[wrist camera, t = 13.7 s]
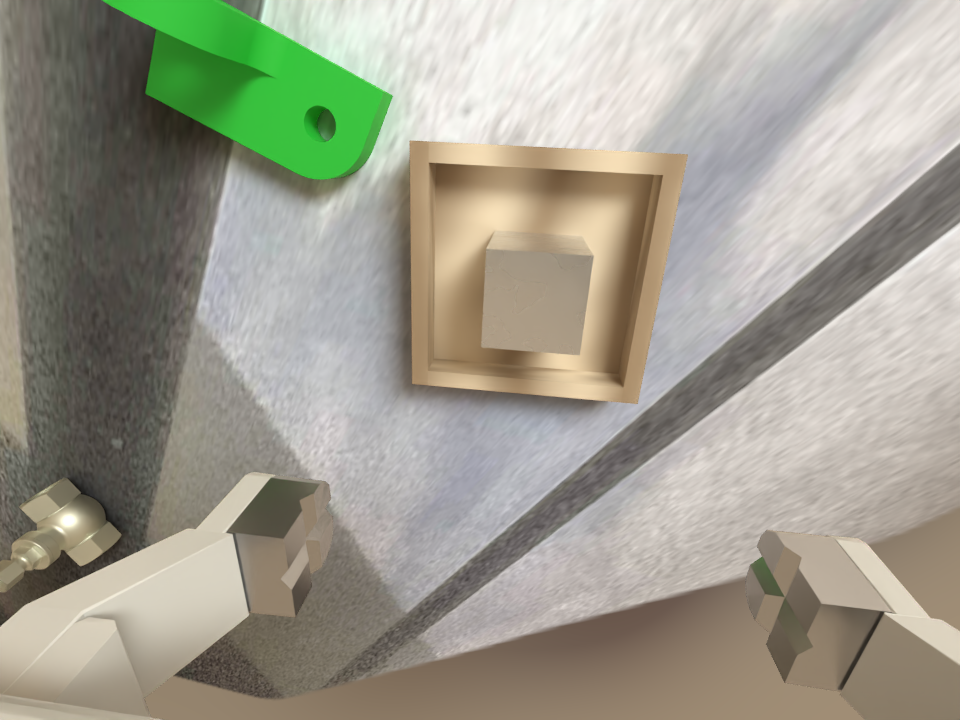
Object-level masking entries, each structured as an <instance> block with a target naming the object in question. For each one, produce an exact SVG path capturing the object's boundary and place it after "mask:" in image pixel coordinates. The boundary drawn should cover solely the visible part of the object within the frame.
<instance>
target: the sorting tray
mask: <svg viewBox="0 0 960 720" xmlns="http://www.w3.org/2000/svg"><path fill="white" fill-rule="evenodd" d="M687 157H688V155H687V154H667V153H647V152H627V151H607V150H587V149H567V148H547V147H527V146H507V145H487V144H467V143H447V142H427V141H410V226H411V323H412V384H419V385H430V386H441V387H453V388H464V389H475V390H487V391H498V392H509V393H520V394H532V395H543V396H554V397H566V398H577V399H588V400H600V401H611V402H622V403H633V404H638V399H639V394H640V389H641V384H642V379H643V374H644V369H645V364H646V359H647V354H648V350H649V345H650V340H651V335H652V330H653V325H654V320H655V315H656V310H657V305H658V300H659V295H660V290H661V285H662V280H663V275H664V270H665V265H666V261H667V256H668V251H669V246H670V241H671V236H672V231H673V226H674V221H675V216H676V211H677V206H678V201H679V196H680V191H681V186H682V181H683V176H684V172H685V167H686V162H687ZM495 231H510V232H526V233H542V234H558V235H573V236H582V237H583V239H584V241H585V242H586V244H587V245H588V247H589V249H590V250H591V252H592V254H593V255H594V258H593V266H592V273H591V280H590V287H589V294H588V301H587V308H586V315H585V322H584V329H583V336H582V343H581V350H580V355H568V354H556V353H544V352H531V351H519V350H507V349H495V348H482V347H481V341H482V321H483V302H484V283H485V263H486V248H487V246H488V244H489V242H490V240H491V238H492V236H493V234H494V232H495Z"/></svg>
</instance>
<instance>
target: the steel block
mask: <svg viewBox="0 0 960 720" xmlns="http://www.w3.org/2000/svg"><path fill="white" fill-rule="evenodd" d="M593 258H594V255H593V254H592V252H591V250H590V249H589V247H588V245H587V244H586V242H585V241H584V239H583V237H582V236H573V235H558V234H542V233H526V232H510V231H495V232H494V234H493V236H492V238H491V240H490V242H489V244H488V246H487V248H486V263H485V283H484V302H483V321H482V341H481V347H482V348H495V349H507V350H519V351H531V352H544V353H556V354H568V355H580V350H581V343H582V336H583V329H584V322H585V315H586V308H587V301H588V294H589V287H590V280H591V273H592V266H593Z"/></svg>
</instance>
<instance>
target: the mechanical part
mask: <svg viewBox="0 0 960 720" xmlns="http://www.w3.org/2000/svg"><path fill="white" fill-rule="evenodd" d="M102 1H104V2H106V3H107V4H109V5H111V6H113V7H114V8H116V9H118V10H120V11H122V12H124V13H126V14H128V15H130V16H131V17H133V18H135V19H137V20H139V21H141V22H143V23H145V24H147V25H149V26H151V27H154V28H156V34H155V40H154V46H153V52H152V58H151V64H150V69H149V75H148V81H147V87H146V93H145V94H147V95H149V96H151V97H153V98H155V99H157V100H159V101H160V102H162V103H164V104H166V105H168V106H170V107H172V108H174V109H176V110H178V111H179V112H181V113H183V114H185V115H187V116H189V117H191V118H193V119H195V120H196V121H198V122H200V123H202V124H204V125H206V126H208V127H210V128H212V129H214V130H215V131H217V132H219V133H221V134H223V135H225V136H227V137H229V138H231V139H232V140H234V141H236V142H238V143H240V144H242V145H244V146H246V147H248V148H249V149H251V150H253V151H255V152H257V153H259V154H261V155H263V156H265V157H267V158H268V159H270V160H272V161H274V162H276V163H278V164H280V165H282V166H284V167H285V168H287V169H289V170H291V171H293V172H295V173H297V174H299V175H301V176H304V177H307V178H311V179H332V178H341V177H345V176H348V175H350V174H352V173H354V172H355V171H357V170H358V169H359V168H361V167H362V166H363V165H364V163H365V162H366V161H367V160H368V158H369V156H370V155H371V153H372V150H373V148H374V145H375V143H376V140H377V137H378V135H379V132H380V129H381V126H382V124H383V121H384V118H385V116H386V113H387V110H388V108H389V105H390V102H391V99H392V97H393V96H392V95H391V94H389V93H387V92H385V91H383V90H382V89H380V88H378V87H376V86H374V85H373V84H371V83H369V82H367V81H365V80H364V79H362V78H360V77H358V76H356V75H355V74H353V73H351V72H349V71H347V70H346V69H344V68H342V67H340V66H338V65H337V64H335V63H333V62H331V61H329V60H328V59H326V58H324V57H322V56H320V55H319V54H317V53H315V52H313V51H311V50H310V49H308V48H306V47H304V46H302V45H301V44H299V43H297V42H295V41H293V40H292V39H290V38H288V37H286V36H284V35H283V34H281V33H279V32H277V31H275V30H274V29H272V28H270V27H268V26H266V25H265V24H263V23H261V22H259V21H257V20H256V19H254V18H252V17H250V16H248V15H247V14H245V13H243V12H241V11H239V10H238V9H236V8H234V7H232V6H230V5H229V4H227V3H225V2H223V1H221V0H102ZM326 109H328V110H329V111H330V112H331V113H332V114H333V116H334V118H335V122H336V131H335V134H334V136H333V137H332V138H331V139H330V140H329V141H326V140H325V139H324V138H323V137H322V136H321V135H320V133H319V130H318V126H317V122H318V118H319V115H320V114H321V113H322V112H323V111H324V110H326Z"/></svg>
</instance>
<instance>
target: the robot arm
mask: <svg viewBox="0 0 960 720" xmlns="http://www.w3.org/2000/svg"><path fill="white" fill-rule="evenodd" d="M330 499H331V495H330V487H329V484H328V483H327V482H325V481H320V480H313V479H305V478H298V477H290V476H283V475H272V474H264V473H257V472H252V473H249V474H246V475H245V476H244V477H243V478H242V479H241V480H240V481H239V482H238V484H237V485H236V486H235V487H234V488H233V489H232V490H231V491H230V492H229V493H228V494H227V496H226V497H225V498H224V499H223V500H222V501H221V502H220V503H219V504H218V505H217V506H216V508H215V509H214V510H213V511H212V512H211V513H210V514H209V515H208V516H207V517H206V518H205V520H204V521H203V522H202V523H201V524H200V525H199V526H198V527H197V528H196V529H185V530H183V531H181V532H179V533H177V534H175V535H173V536H171V537H168V538H166V539H164V540H162V541H160V542H158V543H156V544H154V545H151V546H149V547H147V548H145V549H143V550H141V551H139V552H137V553H135V554H132V555H130V556H128V557H126V558H124V559H122V560H120V561H118V562H115V563H113V564H111V565H109V566H107V567H105V568H103V569H101V570H98V571H96V572H94V573H92V574H90V575H88V576H86V577H84V578H81V579H79V580H77V581H75V582H73V583H71V584H69V585H67V586H65V587H62V588H60V589H58V590H56V591H54V592H52V593H50V594H48V595H45V596H43V597H41V598H39V599H37V600H35V601H33V602H31V603H28V604H26V605H25V606H24V607H22V608H21V609H20V610H19V611H18V612H17V613H16V614H14V615H13V616H12V617H11V618H10V619H9V620H8V621H6V622H5V623H4V624H3V625H2V626H1V627H0V720H163V719H156V718H151V715H150V713H149V710H148V707H147V705H146V702H145V699H144V698H145V697H147V696H148V695H149V694H150V693H152V692H153V691H154V690H156V689H157V688H158V687H159V686H161V685H162V684H163V683H164V682H166V681H167V680H168V679H170V678H171V677H172V676H173V675H175V674H176V673H177V672H178V671H180V670H181V669H182V668H183V667H185V666H186V665H187V664H188V663H190V662H191V661H192V660H194V659H195V658H196V657H197V656H199V655H200V654H201V653H202V652H204V651H205V650H206V649H207V648H209V647H210V646H211V645H212V644H214V643H215V642H216V641H217V640H219V639H220V638H221V637H223V636H224V635H225V634H226V633H228V632H229V631H230V630H231V629H233V628H234V627H235V626H236V625H238V624H239V623H240V622H241V621H243V620H244V619H245V618H247V617H248V616H249V613H258V614H268V615H277V616H287V617H296V616H297V614H298V612H299V610H300V608H301V606H302V604H303V602H304V600H305V599H306V597H307V595H308V593H309V591H310V589H311V587H312V582H311V574H312V573H313V572H315V571H316V570H318V569H319V568H321V567H322V566H323V564H324V562H325V560H326V558H327V556H328V554H329V550H330V546H331V543H332V539H333V528H334V525H333V516H332V515H331V514H330V513H329V512H328V510H327V509H326V506H327V505H328V503H329V501H330ZM757 548H758V549H759V551H760V553H761V555H762V557H761V558H760V559H758V560H757V561H755V562H754V563H752V564H751V565H750V567H749V570H748V573H747V577H746V597H747V601H748V604H749V608H750V610H751V613H752V615H753V617H754V619H755V621H756V622H757V623H758V624H760V625H761V626H762V627H763V628H764V629H765V630H766V631H768V632H769V633H770V635H769V638H768V641H767V644H766V645H767V647H768V649H769V651H770V653H771V655H772V657H773V660H774V662H775V664H776V666H777V668H778V670H779V672H780V674H781V676H782V678H783V680H784V682H785V683H788V684H795V685H801V686H807V687H813V688H819V689H825V690H832V691H838V692H841V693H840V695H841V696H842V697H843V698H844V699H845V700H846V701H847V702H848V703H849V704H850V705H851V706H852V707H853V708H854V709H855V710H856V711H857V712H858V713H859V714H860V715H861V716H862V717H863V718H864V719H865V720H960V631H959V630H957V629H955V628H954V627H952V626H951V625H949V624H948V623H946V622H944V621H943V620H940V619H933V618H930V617H929V616H928V614H927V613H926V612H925V611H924V610H923V609H922V607H921V606H920V605H919V604H918V603H917V602H916V601H915V599H914V598H913V597H912V596H911V595H910V593H909V592H908V591H907V590H906V589H905V588H904V587H903V585H902V584H901V583H900V582H899V581H898V579H897V578H896V577H895V576H894V575H893V574H892V572H891V571H890V570H889V569H888V568H887V567H886V566H885V564H884V563H883V562H882V561H881V560H880V559H879V558H878V556H877V555H876V554H875V553H874V552H873V550H872V549H871V548H870V547H869V546H868V545H867V544H866V543H865V542H863V541H861V540H860V539H858V538H851V537H840V536H829V535H827V536H822V535H812V534H802V533H793V532H783V531H773V530H766V531H765V532H764V533H763V534H762V535H761V537H760V540H759V542H758V545H757Z"/></svg>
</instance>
